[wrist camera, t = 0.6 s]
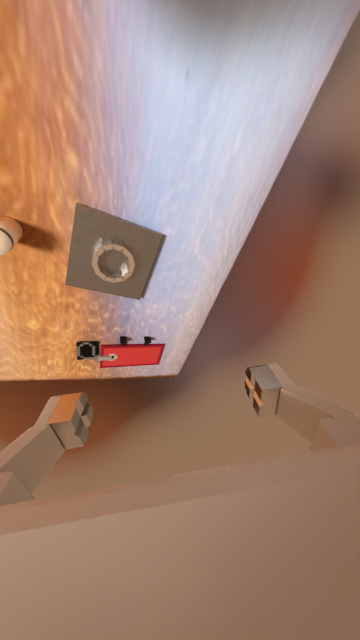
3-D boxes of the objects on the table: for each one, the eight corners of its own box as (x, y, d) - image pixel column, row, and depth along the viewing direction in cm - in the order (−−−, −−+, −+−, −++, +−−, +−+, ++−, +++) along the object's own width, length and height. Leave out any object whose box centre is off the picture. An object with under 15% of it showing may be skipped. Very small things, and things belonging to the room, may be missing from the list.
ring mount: (76, 202, 46) (74, 206, 43) (161, 233, 55) (164, 238, 52) (66, 281, 56) (63, 289, 53) (139, 297, 65) (140, 304, 62)
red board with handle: (76, 336, 68) (78, 366, 76) (75, 342, 66) (77, 372, 74) (165, 335, 79) (157, 361, 88) (167, 340, 77) (159, 367, 86)
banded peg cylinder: (-7, 212, 43) (-25, 223, 37) (23, 221, 45) (11, 232, 39) (-6, 236, 45) (-22, 250, 39) (23, 243, 48) (11, 258, 42)
